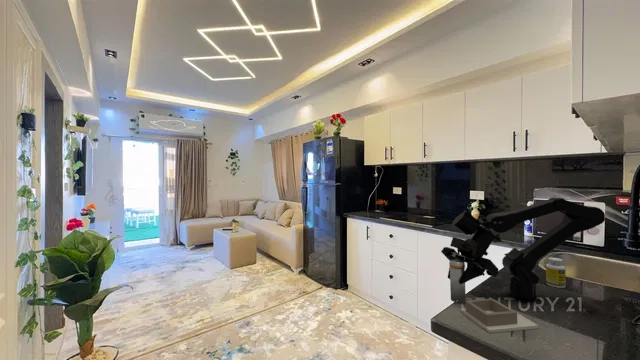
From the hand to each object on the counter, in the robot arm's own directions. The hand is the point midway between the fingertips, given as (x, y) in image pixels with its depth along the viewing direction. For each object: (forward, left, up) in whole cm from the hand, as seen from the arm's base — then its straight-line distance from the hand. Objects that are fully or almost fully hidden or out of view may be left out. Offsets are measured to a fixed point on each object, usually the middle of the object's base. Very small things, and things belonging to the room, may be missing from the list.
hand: (454, 280), depth 88 cm
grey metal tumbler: (-1, 0, -7) cm, 7 cm away
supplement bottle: (-43, -5, -7) cm, 44 cm away
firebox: (-4, +13, -7) cm, 15 cm away
